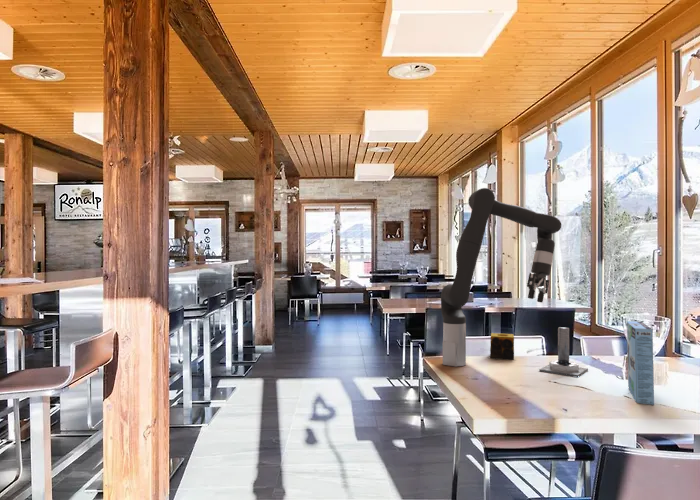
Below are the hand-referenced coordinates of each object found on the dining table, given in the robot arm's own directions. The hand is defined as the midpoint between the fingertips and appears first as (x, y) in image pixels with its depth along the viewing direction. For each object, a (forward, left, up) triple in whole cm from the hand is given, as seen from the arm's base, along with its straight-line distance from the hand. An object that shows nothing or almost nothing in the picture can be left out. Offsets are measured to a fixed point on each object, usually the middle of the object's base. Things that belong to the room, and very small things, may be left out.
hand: (535, 300), depth 198 cm
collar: (-5, -13, -27) cm, 30 cm away
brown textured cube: (+4, +16, -27) cm, 31 cm away
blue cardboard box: (-24, -42, -27) cm, 55 cm away
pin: (-5, -13, -26) cm, 29 cm away
